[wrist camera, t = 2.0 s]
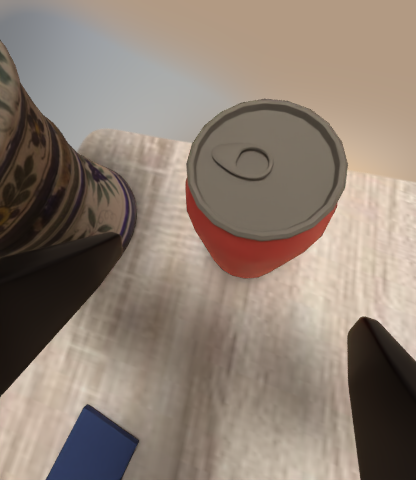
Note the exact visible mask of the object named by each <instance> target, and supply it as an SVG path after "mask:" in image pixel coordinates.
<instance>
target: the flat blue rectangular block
mask: <svg viewBox="0 0 416 480" xmlns="http://www.w3.org/2000/svg"><path fill="white" fill-rule="evenodd" d="M138 442H139V440H137V439H136V438H134V437H133V436H132V435H130V434H129V433H127V432H126V431H125V430H123V429H122V428H120V427H119V426H118V425H116V424H115V423H113V422H112V421H110V420H109V419H108V418H106V417H105V416H103V415H102V414H101V413H99V412H98V411H96V410H95V409H94V408H92V407H91V406H89V405H86V406H85V407H84V408H83V410H82V412H81V414H80V415H79V417H78V419H77V421H76V423H75V425H74V427H73V429H72V431H71V433H70V435H69V436H68V438H67V440H66V442H65V444H64V446H63V448H62V450H61V452H60V454H59V456H58V458H57V459H56V461H55V463H54V465H53V467H52V469H51V471H50V473H49V475H48V477H47V479H46V480H121V478H122V476H123V474H124V472H125V470H126V468H127V466H128V463H129V461H130V459H131V457H132V455H133V453H134V451H135V449H136V446H137V444H138Z"/></svg>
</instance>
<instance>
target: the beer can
mask: <svg viewBox="0 0 416 480" xmlns="http://www.w3.org/2000/svg"><path fill="white" fill-rule="evenodd" d="M347 167H348V163H347V159H346V155H345V152H344V148H343V144H342V141H341V140H340V138H339V137H338V136H337V134H336V133H335V131H334V130H333V128H332V127H331V126H330V124H329V123H328V122H327V121H325V120H324V119H323V118H321V117H320V116H319V115H317V114H316V113H314V112H313V111H312V110H311V109H308V108H306V107H303V106H300V105H297V104H295V103H292V102H289V101H282V100H272V99H261V100H255V101H249V102H243V103H240V104H238V105H235V106H233V107H231V108H229V109H227V110H224V111H222V112H220V113H219V114H218V115H217V116H215V117H214V118H213V119H212V120H211V121H209V122H208V123H207V124H206V125H205V126H204V127H203V128H202V130H201V131H200V133H199V134H198V136H197V137H196V139H195V140H194V142H193V143H192V146H191V150H190V153H189V157H188V160H187V179H186V204H187V212H188V214H189V217H190V219H191V222H192V224H193V226H194V229H195V231H196V232H197V234H198V236H199V237H200V239H201V240H202V242H203V243H204V245H205V247H206V248H207V250H208V251H209V253H210V255H211V256H212V258H213V259H214V261H215V262H216V263H217V264H218V265H219V266H220V267H221V269H223V270H224V271H226V272H228V273H229V274H231V275H233V276H237V277H241V278H256V277H260V276H262V275H265V274H267V273H269V272H271V271H273V270H274V269H276V268H278V267H280V266H281V265H283V264H285V263H286V262H288V261H290V260H291V259H293V258H295V257H296V256H298V255H300V254H301V253H303V252H304V251H306V250H307V249H308V248H309V247H310V246H311V245H312V244H313V243H314V242H315V241H317V240H318V239H319V238H320V237H321V236H322V235H323V233H324V231H325V229H326V227H327V225H328V223H329V221H330V219H331V217H332V216H333V214H334V212H335V210H336V208H337V202H338V200H339V198H340V196H341V194H342V192H343V191H344V189H345V184H346V176H347Z"/></svg>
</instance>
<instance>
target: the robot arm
mask: <svg viewBox="0 0 416 480" xmlns="http://www.w3.org/2000/svg"><path fill="white" fill-rule="evenodd" d="M122 253H123V247H122V237H121V235H120V234H117V233H114V232H106V233H102V234H98V235H94V236H90V237H85V238H81V239H77V240H73V241H69V242H64V243H60V244H56V245H52V246H48V247H43V248H39V249H35V250H31V251H26V252H22V253H18V254H14V255H10V256H5V257H2V258H0V397H1V395H2V394H3V393H4V392H5V391H6V390H7V389H8V388H9V387H10V386H11V385H12V383H13V382H14V381H15V380H16V379H17V378H18V377H19V376H20V374H21V373H22V372H23V371H24V370H25V369H26V368H27V367H28V366H29V364H30V363H31V362H32V361H33V360H34V359H35V358H36V357H37V355H38V354H39V353H40V352H41V351H42V350H43V349H44V348H45V347H46V345H47V344H48V343H49V342H50V341H51V340H52V339H53V338H54V336H55V335H56V334H57V333H58V332H59V331H60V330H61V329H62V328H63V326H64V325H65V324H66V323H67V322H68V321H69V320H70V319H71V317H72V316H73V315H74V314H75V313H76V312H77V311H78V310H79V309H80V307H81V306H82V305H83V304H84V303H85V302H86V301H87V300H88V298H89V297H90V296H91V295H92V294H93V293H94V292H95V291H96V289H97V288H98V287H99V286H100V285H101V283H102V282H103V281H104V279H105V278H106V277H107V275H108V274H109V272H110V271H111V270H112V268H113V267H114V266H115V264H116V263H117V261H118V260H119V259H120V257H121V256H122ZM347 345H348V385H349V394H350V402H351V410H352V417H353V425H354V433H355V441H356V448H357V456H358V464H359V472H360V479H361V480H416V361H415V360H414V359H413V358H412V357H411V356H410V355H409V354H408V353H407V352H406V351H405V349H404V348H403V347H402V346H401V345H400V344H399V343H398V342H397V341H396V340H395V339H394V338H393V337H392V336H391V334H390V333H389V332H388V331H387V330H386V329H385V328H384V327H383V326H382V325H381V324H380V323H379V322H378V321H377V320H374V319H371V318H368V317H361V318H360V319H359V320H358V321H357V322H356V323H355V324H354V326H353V327H352V328H351V329H350V331H349V332H348V336H347Z"/></svg>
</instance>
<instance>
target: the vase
mask: <svg viewBox="0 0 416 480" xmlns="http://www.w3.org/2000/svg"><path fill="white" fill-rule="evenodd" d="M136 217H137V209H136V202H135V198H134V196H133V193H132V191H131V189H130V187H129V186H128V184H127V183H126V181H125V180H124V179H123V178H122V177H121V176H120V175H119V174H117V173H116V172H114V171H112V170H110V169H108V168H105V167H103V166H101V165H99V164H97V163H95V162H93V161H91V160H89V159H87V158H85V157H84V156H82V155H80V154H79V153H77V152H76V151H75V150H74V149H73V148H72V147H71V146H70V145H69V144H68V143H67V141H66V140H65V138H64V136H63V135H62V133H61V132H60V130H59V129H58V128H57V127H56V126H55V125H54V123H53V122H51V121H50V120H49V119H48V118H46V117H45V116H44V115H43V114H42V113H41V112H40V111H39V109H38V108H37V107H36V105H35V104H34V103H33V101H32V100H31V98H30V97H29V95H28V94H27V92H26V91H25V89H24V88H23V86H22V85H21V83H20V79H19V76H18V73H17V69H16V66H15V64H14V62H13V60H12V58H11V56H10V54H9V52H8V50H7V48H6V47H5V45H4V44H3V43H2V42H1V40H0V258H2V257H5V256H10V255H14V254H18V253H22V252H26V251H31V250H35V249H39V248H43V247H48V246H52V245H56V244H60V243H64V242H69V241H73V240H77V239H81V238H85V237H90V236H94V235H98V234H102V233H106V232H114V233H117V234H120V235H121V237H122V247H123V252H124V250H125V249H126V247H127V245H128V244H129V241H130V239H131V237H132V234H133V231H134V227H135V223H136Z"/></svg>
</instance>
